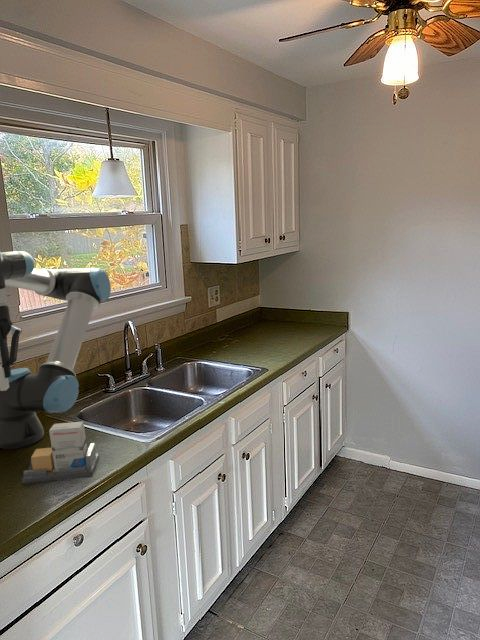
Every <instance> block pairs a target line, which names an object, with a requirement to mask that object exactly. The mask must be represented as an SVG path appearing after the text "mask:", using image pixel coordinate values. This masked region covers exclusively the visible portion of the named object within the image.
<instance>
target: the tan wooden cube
mask: <svg viewBox="0 0 480 640" xmlns="http://www.w3.org/2000/svg"><path fill="white" fill-rule="evenodd" d="M31 460H32V467H33V470H37V469H47V471H50V470H52V469H53V467H54V460H53V454H52V447H45V448H44V447H43V448H36V449H35V450H34V452H32V455H31V457H30V461H31Z"/></svg>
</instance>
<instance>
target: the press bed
mask: <svg viewBox="0 0 480 640" xmlns="http://www.w3.org/2000/svg"><path fill="white" fill-rule="evenodd" d="M85 457H86V466H76V467H66V468H59V469H55V467H53V469H52V470H50V471H47V469H37V470H33V467H32V460H31V459H30V464H29V466H28V468H27V470H23V472H22V473H23V476H22V477H21V483H22V485H25V484H26V485H27V484H37V483H46V482H53V481H63V480H65V481H66V480H73V479H74V480H75V479H82V478H83V479H85V478H93V477H94V473H95V470H96V468H97V465H98V462H99V459H100V457H99V453H98V452H97V451H96V443H94V442H93V443H92V442H91V443H89V446H88V447H87V453H86V456H85Z"/></svg>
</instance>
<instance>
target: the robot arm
mask: <svg viewBox="0 0 480 640" xmlns="http://www.w3.org/2000/svg"><path fill="white" fill-rule="evenodd" d="M6 286H8V287H12V288H17V289H21V290H22V289H23V290H26V291H27V290H28V291H31V292H32V291H33V292H34V293H35V294H37V295H39V296H43V297H47V298H52V299H56V300H61V301H66V302H67V306H66V308H65V311H64V314H63V316H62V319H61V322H60V325H59V327H58V330H57V333H56V335H55V339H54V341H53V343H52V347H51V349H50V352H49V354H48V357H47V360H46V362H44V363H42V364H40V365H39V367H38V369H37V373H36V374H35V373H34V374H31V370H30V369H29V367H21V368H20V367H19V368H14V369H11V365H13V364H14V363H16V362H17V358H18V351H19V341H20V335H21V334H22V332H23V328H22V327H16V326H14V324H13V322H12V320H11V314H10V309H9V305H8V304H7V303H8V301H9V300H8V295H7V287H6ZM111 289H112V287H111V281H110V278H109V276H108V274H107V272H106V271H105V270H104V269H102V268H100V267H89V268H59V269H58V268H57V269H50V268H47V267H46V268H39V269H38V268H35V261H34V258H33V256H32V255H31V254H30V253H28V252H27V251H23V250H22V251H21V250H13V251H1V250H0V358H1V362H0V448H2V449H1V450H15V449H21V448H24V447H28V446H30V445H33V444H35V443H37V442H38V441H40V440H41V439H43V437H44V436H45V431H44V426H43V425H42V423H41V421H40V419H39V417H38V416H37V413H36V412H38V413H49V414H53V413H65V412H67V411H68V410H70V409H71V408H72V407H73V406H74V405H75V403H76V401H77V399H78V397H79V393H80V390H79V387H80V384H79V381H78V379H77V375H76V373H75V371H74V369H75V365H76V362H77V359H78V357H79V353H80V350H81V347H82V344H83V342H84V338H85V335H86V332H87V329H88V326H89V323H90V320H91V319H92V318H91V317H92V314H93V312H94V311H96V310H98V309H99V307H100V304H101V301H103V302H105V301H107V300H109V298H110V297H111V291H112V290H111ZM10 332H11V333H10ZM9 333H10V334H11V335H12V337H11V341H10V350H9V347H8V336H9Z"/></svg>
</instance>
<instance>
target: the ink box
mask: <svg viewBox="0 0 480 640" xmlns="http://www.w3.org/2000/svg"><path fill="white" fill-rule="evenodd" d="M48 432H49V438H50V445H51V446H50V448H52V454H53V460H54V467H55V469H59V468H66V467H76V466H86V457H85V456H86V453H87V451H88V445H87V437H86V429H85V423H84V421H73V422H61V423H60V422H59V423H53V425H51V427H50V429H49V430H48Z"/></svg>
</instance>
